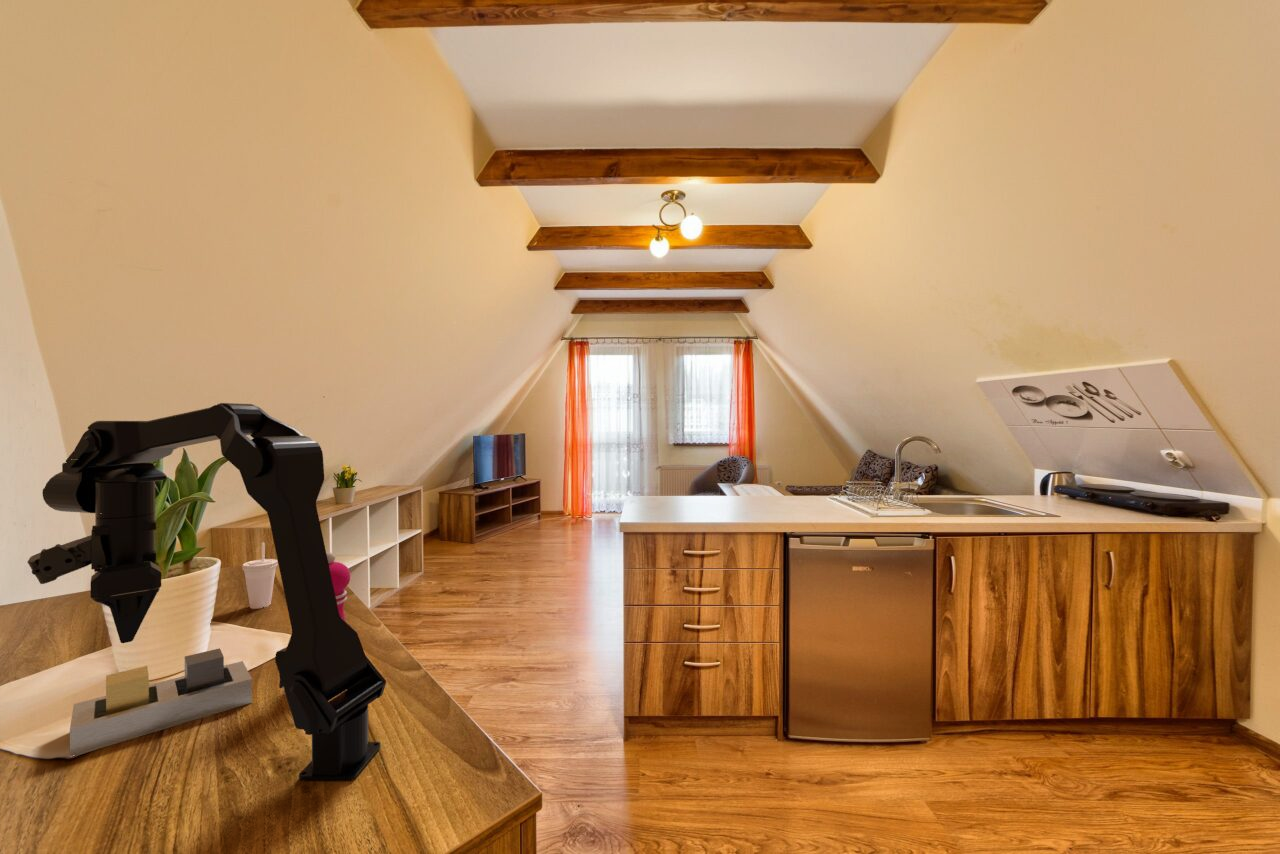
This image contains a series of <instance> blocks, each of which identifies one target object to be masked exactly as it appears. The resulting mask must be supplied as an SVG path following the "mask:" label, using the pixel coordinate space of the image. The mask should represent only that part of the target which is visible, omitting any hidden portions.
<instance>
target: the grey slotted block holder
mask: <svg viewBox="0 0 1280 854" xmlns="http://www.w3.org/2000/svg"><path fill="white" fill-rule="evenodd" d="M224 659H225V658H224V654H223V652H222V649H221V648H216V649H211V650H207V651H202V652H199V653H193V654H191V655H190V654H189V655H186V656H184V675H181V676H179V677H175V678H170V679H167V680H162V681H158V682H155V683H151V684H149V704H147V705H144V706H140V707H136V708H133V709H129V710H125V711H122V712H118V713H114V714H111V715H107V716H106V695H103V696H99V697H96V698H92V699H88V700H83V701H80V702H76V703H73V706H72V713H71V719H70V727H69V757H70V756H73V755H76V756H80V755H83V754H87V753H90V752H93V751H97V750H99V749H103V748H106V747H109V746H113V745H116V744H120V743H123V742H126V741H127V742H128V741H129V740H133V739H136V738H139V737H142V736H146V735H149V734H152V733H156V732H159V731H163V730H167V729H169V728H172V727H176V726H180V725H182V724H186V723H189V722H192V721H196V720H199V719H203V718H206V717H210V716H212V715H216V714H218V713H223V712H225V711H228V710H229V711H230V710H232V709H236V708H239V707H242V706H246V705H249V704H251V703H253V677H252V676H251V675H250V672H249V670H248V669H247V666H246V665H245V663H244V661H243V660H242V661H237V662H233V663H229V664H226V665H225V661H224ZM76 756H75V757H76Z"/></svg>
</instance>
